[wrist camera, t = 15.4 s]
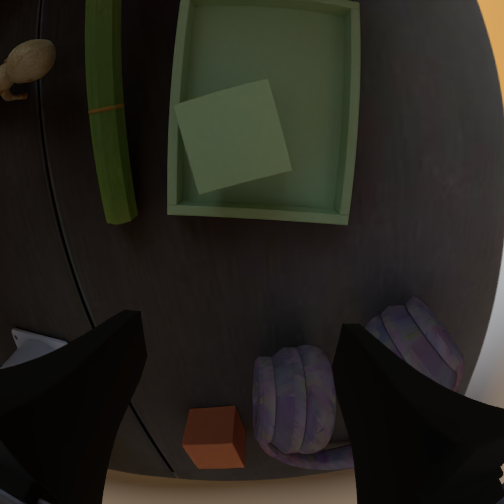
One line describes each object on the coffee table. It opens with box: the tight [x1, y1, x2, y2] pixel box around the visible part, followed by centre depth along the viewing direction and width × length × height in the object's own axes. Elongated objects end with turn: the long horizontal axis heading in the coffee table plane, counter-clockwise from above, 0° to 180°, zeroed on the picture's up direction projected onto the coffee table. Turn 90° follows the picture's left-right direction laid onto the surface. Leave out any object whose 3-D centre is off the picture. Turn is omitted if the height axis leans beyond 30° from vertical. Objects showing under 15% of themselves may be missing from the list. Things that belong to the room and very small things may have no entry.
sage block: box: [174, 79, 293, 195], centre depth 15 cm, size 4×4×4 cm
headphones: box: [252, 296, 465, 470], centre depth 22 cm, size 18×8×20 cm
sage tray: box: [167, 0, 361, 225], centre depth 16 cm, size 14×11×2 cm
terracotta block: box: [182, 405, 246, 469], centre depth 24 cm, size 4×4×4 cm
